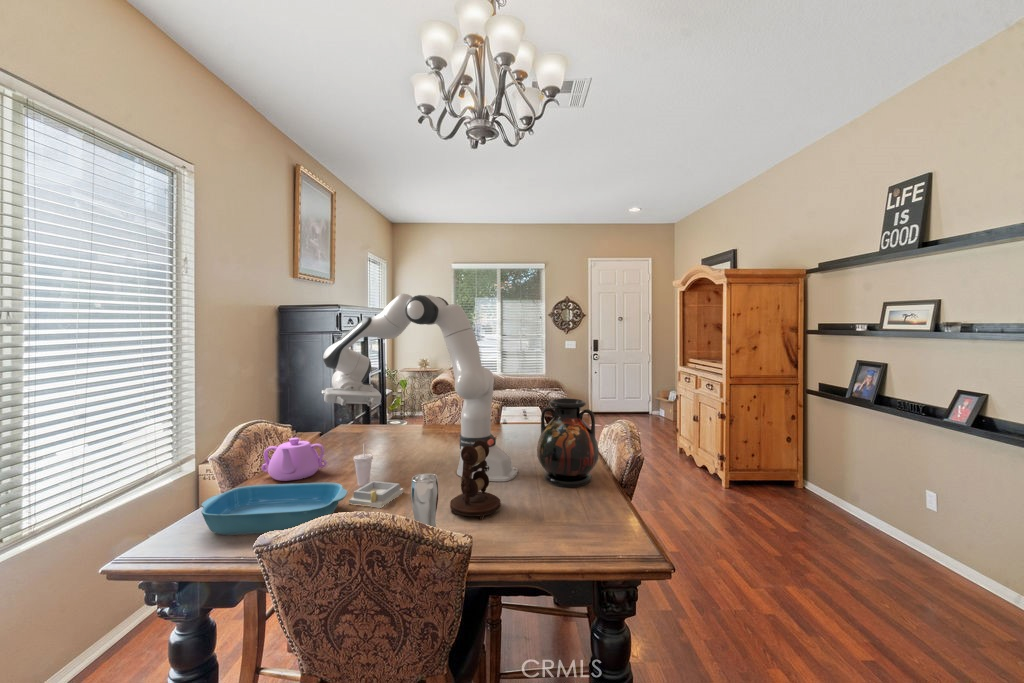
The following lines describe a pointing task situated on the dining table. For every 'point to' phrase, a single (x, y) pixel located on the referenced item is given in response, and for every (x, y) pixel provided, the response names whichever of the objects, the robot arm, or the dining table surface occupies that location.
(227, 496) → the casserole dish
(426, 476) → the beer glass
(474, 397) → the robot arm
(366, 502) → the collar plate
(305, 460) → the teapot
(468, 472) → the brown spool stand
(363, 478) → the smoothie
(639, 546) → the dining table surface
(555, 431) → the amphora vase
